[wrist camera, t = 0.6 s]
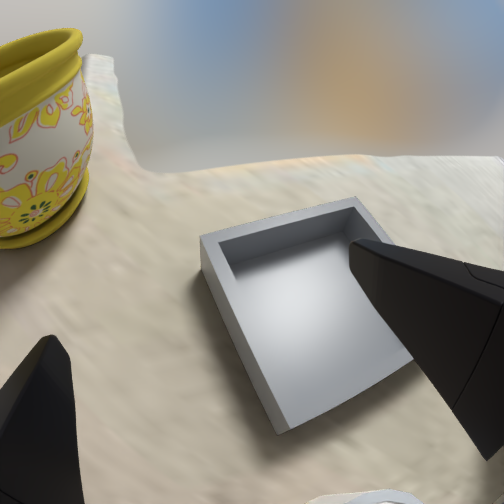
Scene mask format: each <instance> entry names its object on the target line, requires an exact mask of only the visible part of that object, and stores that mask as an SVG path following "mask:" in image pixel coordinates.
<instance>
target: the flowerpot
mask: <svg viewBox="0 0 504 504" xmlns="http://www.w3.org/2000/svg"><path fill="white" fill-rule="evenodd" d="M82 41H83V36H82V33H81V31H80V30H78V29H74V28H62V29H54V30H49V31H44V32H40V33H36V34H33V35H29V36H26V37H23V38H20V39H17V40H15V41H12V42H9V43H7V44H5V45H2V46H0V249H15V248H22V247H26V246H29V245H32V244H35V243H37V242H39V241H41V240H43V239H45V238H46V237H48V236H49V235H51V234H52V233H54V232H55V231H56V230H58V229H59V228H60V227H61V226H62V225H63V224H64V223H65V222H66V221H67V220H68V219H69V218H70V217H71V215H72V214H73V213H74V211H75V210H76V208H77V207H78V205H79V203H80V201H81V200H82V198H83V196H84V194H85V192H86V189H87V186H88V182H89V172H88V168H87V165H88V162H89V158H90V154H91V150H92V143H93V116H92V109H91V104H90V99H89V95H88V91H87V87H86V84H85V81H84V79H83V76H82V72H81V65H82V60H81V58H80V57H79V56H78V52H77V50H78V49H79V47H80V46H81V44H82Z"/></svg>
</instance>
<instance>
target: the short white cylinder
mask: <svg viewBox="0 0 504 504" xmlns="http://www.w3.org/2000/svg"><path fill="white" fill-rule="evenodd" d="M305 504H424V503H423V502H421V501H420V500H419V499H417V498H416V497H415V496H414V495H412V494H411V493H408V492H402V491H397V490H392V489H384V490H376V491H367V492H357V493H344V494H332V495H322V496H319V497H317V498H315V499H313V500H310V501H308V502H306V503H305Z"/></svg>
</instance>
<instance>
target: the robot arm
mask: <svg viewBox="0 0 504 504" xmlns="http://www.w3.org/2000/svg"><path fill="white" fill-rule="evenodd" d="M349 268H350V271H351V273H352V274H353V276H354V278H355V279H356V281H357V282H358V284H359V285H360V287H361V288H362V290H363V291H364V293H365V295H366V296H367V298H368V299H369V301H370V302H371V304H372V305H373V307H374V308H375V310H376V311H377V312H378V314H379V315H380V316H381V317H382V319H383V320H384V321H385V322H386V324H387V325H388V326H389V327H390V329H391V330H392V331H393V333H394V334H395V335H396V336H397V338H398V339H399V340H400V342H401V343H402V344H403V345H404V347H405V348H406V349H407V351H408V352H409V353H410V355H411V356H412V357H413V358H414V360H415V361H416V362H417V364H418V365H419V366H420V368H421V369H422V370H423V372H424V373H425V374H426V376H427V377H428V379H429V380H430V381H431V383H432V384H433V385H434V387H435V388H436V389H437V391H438V392H439V394H440V395H441V396H442V398H443V399H444V401H445V402H446V403H447V405H448V406H449V408H450V409H451V410H452V412H453V414H454V415H455V416H456V418H457V419H458V421H459V422H460V424H461V425H462V427H463V428H464V429H465V431H466V432H467V434H468V435H469V437H470V438H471V440H472V441H473V443H474V444H475V446H476V447H477V449H478V450H479V452H480V453H481V455H482V456H483V458H484V459H485V460H486V461H488V460H489V459H490V458H491V457H492V456H493V455H494V454H495V453H496V452H497V451H498V450H499V449H500V448H501V447H502V446H503V445H504V271H500V270H495V269H491V268H486V267H482V266H478V265H474V264H470V263H466V262H464V263H463V262H462V261H458V260H454V259H450V258H446V257H442V256H438V255H434V254H430V253H426V252H422V251H417V250H413V249H409V248H405V247H400V246H396V245H392V244H387V243H383V242H379V241H374V240H370V239H365V238H359V239H357V240H354V241H351V242H350V244H349ZM0 504H85V503H84V496H83V490H82V483H81V475H80V467H79V457H78V446H77V432H76V412H75V399H74V391H73V382H72V372H71V361H70V357H69V355H68V353H67V352H66V350H65V349H64V347H63V346H62V344H61V343H60V341H59V340H58V338H57V337H56V336H55V335H48V336H44V337H42V338H41V339H40V340H39V341H38V343H37V344H36V345H35V346H34V347H33V349H32V350H31V351H30V352H29V353H28V355H27V356H26V357H25V358H24V360H23V361H22V362H21V363H20V365H19V366H18V367H17V368H16V370H15V371H14V372H13V374H12V375H11V376H10V377H9V379H8V380H7V381H6V383H5V384H4V385H3V387H2V388H1V389H0ZM493 504H504V493H503V494H502V495H501V496H500V497H499V498H498V499H497V500H496V501H495V502H494V503H493Z"/></svg>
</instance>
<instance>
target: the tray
mask: <svg viewBox="0 0 504 504" xmlns="http://www.w3.org/2000/svg"><path fill="white" fill-rule="evenodd" d="M359 238H365V239H370V240H374V241H379V242H383V243H387V244H392V245H395V244H394V243H393V241H392V240H391V239H390V237H389V236H388V235H387V234H386V232H385V231H384V230H383V229H382V227H381V226H380V225H379V224H378V222H377V221H376V220H375V219H374V217H373V216H372V215H371V214H370V213H369V211H368V210H367V209H366V208H365V207H364V205H363V204H362V203H361V202H360V201H359V199H358V198H357V197H356V196H355V197H351V198H347V199H343V200H339V201H334V202H330V203H326V204H322V205H318V206H314V207H310V208H305V209H301V210H297V211H293V212H289V213H285V214H281V215H277V216H273V217H269V218H265V219H262V220H258V221H254V222H250V223H246V224H242V225H238V226H234V227H231V228H227V229H223V230H219V231H216V232H212V233H208V234H204V235H201V236H200V257H201V270H202V272H203V274H204V277H205V279H206V282H207V284H208V286H209V289H210V291H211V293H212V296H213V298H214V300H215V303H216V305H217V307H218V310H219V312H220V314H221V317H222V319H223V321H224V323H225V326H226V328H227V330H228V332H229V335H230V337H231V339H232V341H233V343H234V346H235V348H236V350H237V352H238V354H239V357H240V359H241V361H242V363H243V365H244V368H245V370H246V372H247V374H248V376H249V378H250V380H251V382H252V385H253V387H254V389H255V391H256V393H257V395H258V397H259V399H260V401H261V403H262V405H263V408H264V410H265V412H266V414H267V416H268V418H269V420H270V422H271V424H272V426H273V428H274V430H275V432H276V434H277V435H280V434H282V433H284V432H286V431H289V430H291V429H293V428H295V427H297V426H299V425H301V424H303V423H305V422H307V421H309V420H311V419H313V418H315V417H317V416H319V415H321V414H323V413H325V412H327V411H329V410H331V409H333V408H335V407H337V406H338V405H340V404H342V403H344V402H346V401H347V400H349V399H351V398H353V397H354V396H356V395H358V394H360V393H361V392H363V391H365V390H366V389H368V388H370V387H371V386H373V385H375V384H376V383H378V382H380V381H381V380H383V379H384V378H386V377H388V376H389V375H391V374H392V373H394V372H395V371H397V370H398V369H400V368H401V367H403V366H404V365H406V364H407V363H409V362H410V361H412V360H413V359H414V358H413V357H412V356H411V355H410V353H409V352H408V351H407V349H406V348H405V347H404V345H403V344H402V343H401V342H400V340H399V339H398V338H397V336H396V335H395V334H394V333H393V331H392V330H391V329H390V327H389V326H388V325H387V324H386V322H385V321H384V320H383V319H382V317H381V316H380V315H379V314H378V312H377V311H376V310H375V308H374V307H373V305H372V304H371V302H370V301H369V299H368V298H367V296H366V295H365V293H364V291H363V290H362V288H361V287H360V285H359V284H358V282H357V281H356V279H355V278H354V276H353V274H352V273H351V271H350V268H349V244H350V242H351V241H354V240H357V239H359Z"/></svg>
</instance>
